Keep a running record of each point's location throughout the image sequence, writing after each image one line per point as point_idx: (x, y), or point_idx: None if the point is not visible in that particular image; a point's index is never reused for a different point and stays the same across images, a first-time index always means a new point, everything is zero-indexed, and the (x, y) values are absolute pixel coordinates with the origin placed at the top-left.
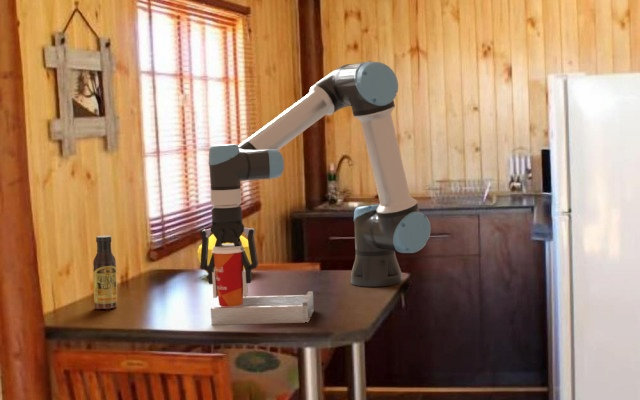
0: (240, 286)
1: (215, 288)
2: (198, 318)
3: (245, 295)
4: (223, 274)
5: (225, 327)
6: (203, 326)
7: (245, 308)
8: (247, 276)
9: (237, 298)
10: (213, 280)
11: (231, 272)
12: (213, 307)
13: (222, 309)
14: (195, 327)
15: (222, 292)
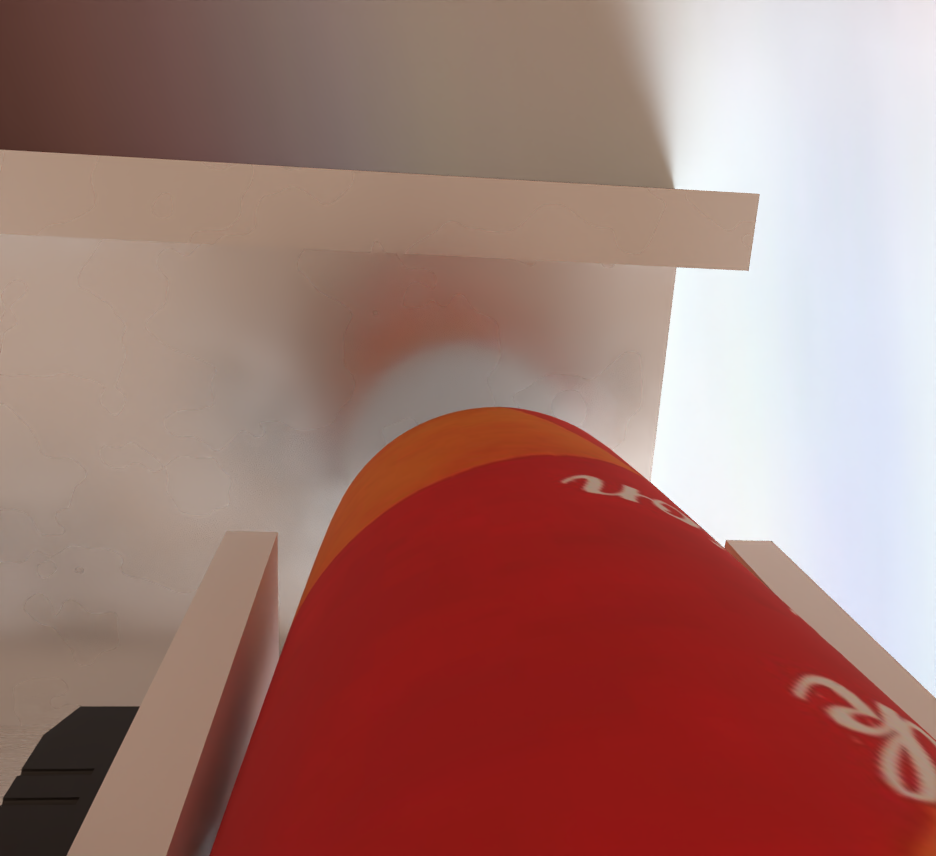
0: (297, 613)
1: (800, 613)
2: (840, 529)
3: (237, 544)
4: (747, 626)
5: (488, 14)
6: (765, 120)
7: (201, 161)
8: (75, 817)
9: (372, 479)
10: (924, 711)
11: (490, 673)
12: (720, 252)
13: (573, 185)
14: (857, 81)
15: (643, 481)
